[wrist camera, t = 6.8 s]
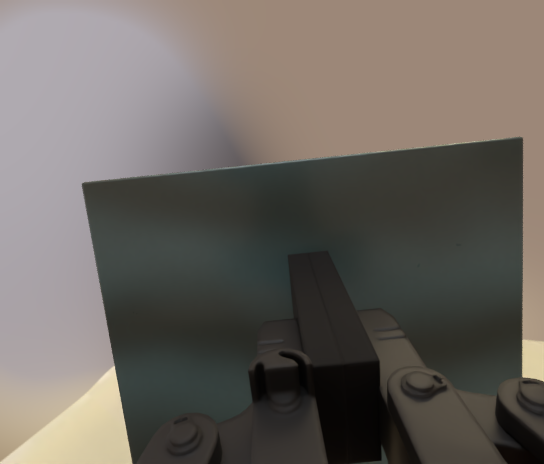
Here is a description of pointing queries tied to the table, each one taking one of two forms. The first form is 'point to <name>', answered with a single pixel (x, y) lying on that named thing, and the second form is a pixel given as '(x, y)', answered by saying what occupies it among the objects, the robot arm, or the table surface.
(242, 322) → the lid
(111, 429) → the table surface
